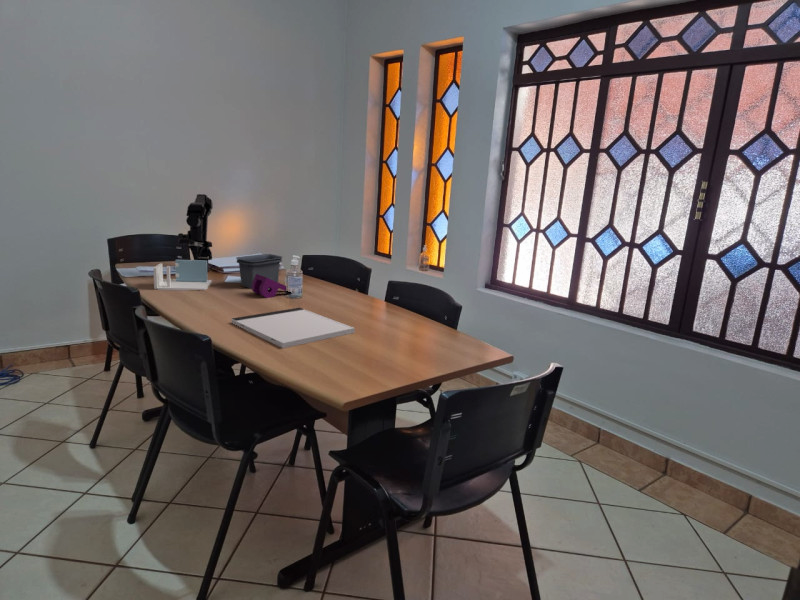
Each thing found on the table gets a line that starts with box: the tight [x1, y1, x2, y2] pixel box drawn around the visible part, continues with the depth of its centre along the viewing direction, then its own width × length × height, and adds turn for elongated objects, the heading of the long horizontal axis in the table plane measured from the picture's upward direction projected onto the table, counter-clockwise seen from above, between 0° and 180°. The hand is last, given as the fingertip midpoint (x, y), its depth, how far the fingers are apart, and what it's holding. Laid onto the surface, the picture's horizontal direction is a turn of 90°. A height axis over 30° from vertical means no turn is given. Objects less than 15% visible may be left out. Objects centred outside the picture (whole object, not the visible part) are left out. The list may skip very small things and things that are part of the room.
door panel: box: [174, 259, 208, 282], centre depth 255 cm, size 4×14×10 cm, turn 101°
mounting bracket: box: [251, 274, 287, 299], centre depth 247 cm, size 9×8×18 cm
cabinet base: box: [152, 262, 213, 291], centre depth 251 cm, size 19×22×10 cm
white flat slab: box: [230, 307, 356, 349], centre depth 199 cm, size 35×2×31 cm
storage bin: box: [235, 253, 284, 290], centre depth 262 cm, size 21×16×14 cm
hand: (195, 260), depth 266 cm, fingers closed
